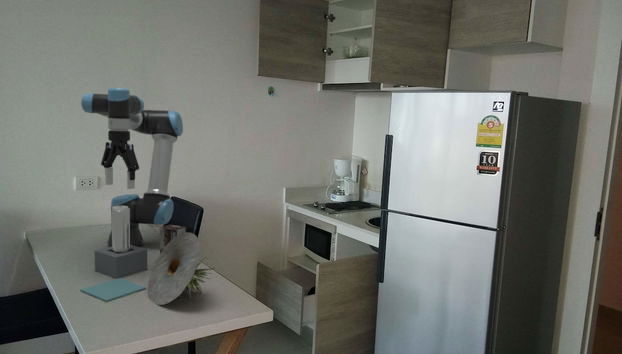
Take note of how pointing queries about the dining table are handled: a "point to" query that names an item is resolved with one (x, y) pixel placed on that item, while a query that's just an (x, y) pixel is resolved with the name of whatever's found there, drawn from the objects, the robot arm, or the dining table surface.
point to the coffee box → (170, 234)
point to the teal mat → (112, 289)
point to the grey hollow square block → (120, 261)
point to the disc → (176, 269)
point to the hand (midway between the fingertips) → (119, 186)
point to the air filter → (120, 229)
